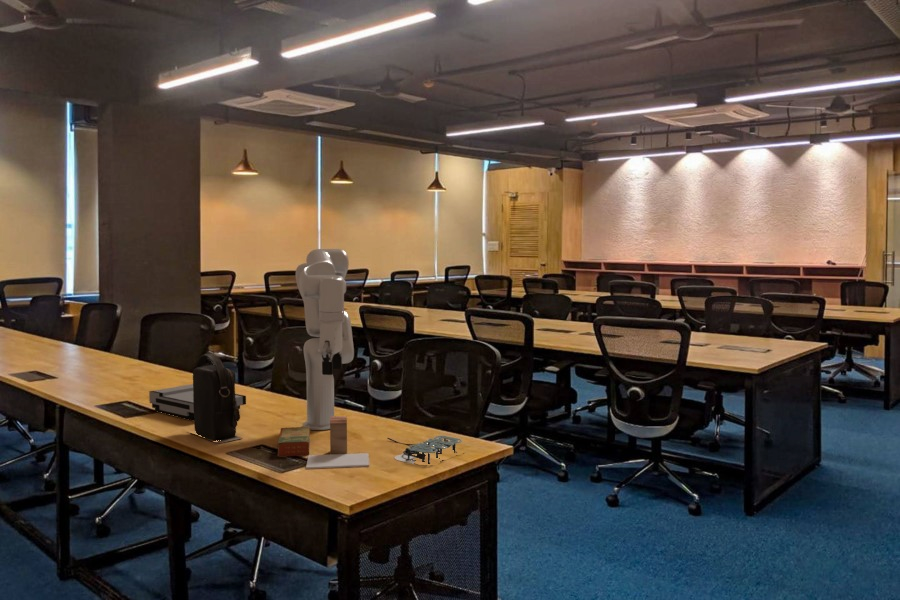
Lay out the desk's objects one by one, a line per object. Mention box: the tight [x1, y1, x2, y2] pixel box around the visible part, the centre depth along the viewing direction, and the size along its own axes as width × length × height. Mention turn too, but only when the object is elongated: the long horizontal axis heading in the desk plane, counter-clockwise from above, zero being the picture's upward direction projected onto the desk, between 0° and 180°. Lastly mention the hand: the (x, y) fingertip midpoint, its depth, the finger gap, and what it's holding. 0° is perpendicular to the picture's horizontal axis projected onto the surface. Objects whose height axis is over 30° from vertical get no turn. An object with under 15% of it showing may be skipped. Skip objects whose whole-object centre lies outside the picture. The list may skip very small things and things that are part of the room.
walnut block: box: [329, 415, 348, 455], centre depth 221 cm, size 5×5×11 cm
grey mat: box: [305, 452, 370, 470], centre depth 213 cm, size 12×18×1 cm, turn 98°
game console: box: [148, 383, 247, 421], centre depth 277 cm, size 21×32×8 cm, turn 53°
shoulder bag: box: [192, 352, 243, 444], centre depth 242 cm, size 23×9×28 cm, turn 46°
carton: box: [277, 426, 311, 457], centre depth 228 cm, size 10×18×5 cm, turn 10°
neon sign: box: [386, 435, 463, 465], centre depth 224 cm, size 21×4×29 cm
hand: (332, 371), depth 224 cm, fingers open, 9 cm apart
